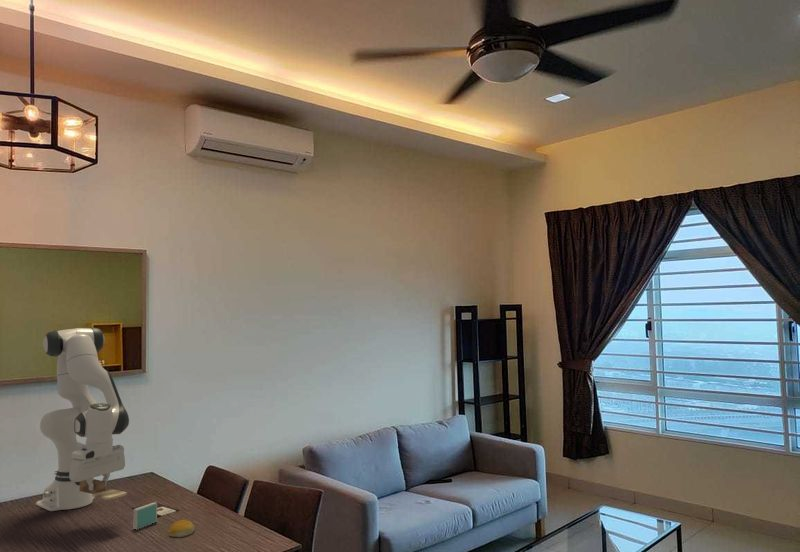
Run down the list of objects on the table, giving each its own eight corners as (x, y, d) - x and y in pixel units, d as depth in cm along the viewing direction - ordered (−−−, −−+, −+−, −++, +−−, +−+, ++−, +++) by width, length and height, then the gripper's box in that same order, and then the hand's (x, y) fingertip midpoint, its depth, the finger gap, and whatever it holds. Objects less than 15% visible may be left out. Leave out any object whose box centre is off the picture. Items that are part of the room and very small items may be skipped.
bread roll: (168, 539, 198) (169, 527, 199) (169, 530, 207) (169, 519, 207) (194, 536, 201) (194, 524, 202) (194, 527, 210) (194, 516, 210)
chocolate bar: (153, 501, 238) (179, 509, 228) (153, 504, 238) (179, 512, 228) (132, 507, 231) (157, 516, 220) (132, 510, 231) (157, 518, 220)
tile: (133, 529, 208) (133, 509, 209) (153, 521, 216) (154, 502, 217) (136, 530, 207) (136, 510, 208) (157, 522, 215) (157, 502, 216)
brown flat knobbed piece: (74, 492, 212) (74, 481, 212) (91, 487, 218) (92, 476, 218) (109, 500, 203) (109, 488, 203) (126, 494, 210) (127, 483, 210)
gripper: (118, 442, 223) (116, 479, 222) (67, 454, 205) (65, 494, 204) (129, 444, 220) (128, 481, 219) (78, 456, 202) (77, 497, 201)
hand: (97, 488), depth 211 cm, fingers closed on brown flat knobbed piece, 3 cm apart
